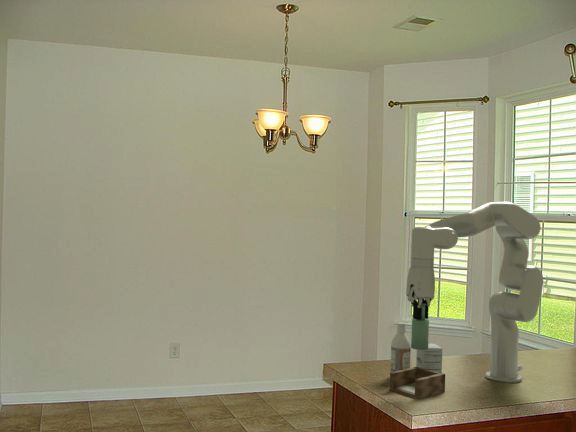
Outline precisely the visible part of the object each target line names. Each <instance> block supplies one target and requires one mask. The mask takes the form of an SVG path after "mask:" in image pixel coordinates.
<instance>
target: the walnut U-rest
mask: <svg viewBox="0 0 576 432" xmlns="http://www.w3.org/2000/svg"><path fill="white" fill-rule="evenodd" d="M389 391H391V392H394V393H397V394H400V395H404V396H407V397H411V398H413V399H416V400H421V399H424V398H429V397H432V396H436V395H439V394H442V393H445V391H446V373H439V372H435V371H431V370H427V369H424V368H420V367H416V366H414V367H413V366H412V367H410V368H408V369H404V370H399V371H395V372H390V371H389Z"/></svg>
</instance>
